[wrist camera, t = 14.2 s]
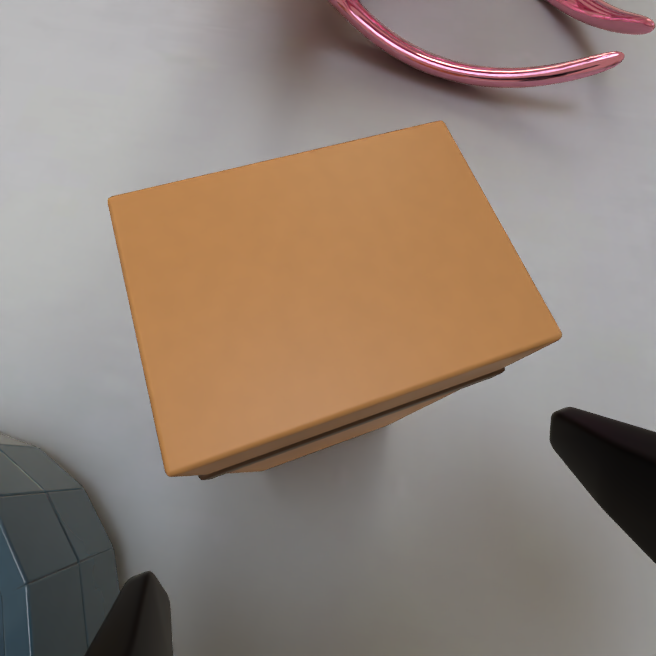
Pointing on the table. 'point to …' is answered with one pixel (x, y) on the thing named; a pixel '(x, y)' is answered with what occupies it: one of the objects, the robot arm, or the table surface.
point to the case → (318, 297)
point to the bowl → (49, 558)
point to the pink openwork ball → (577, 3)
